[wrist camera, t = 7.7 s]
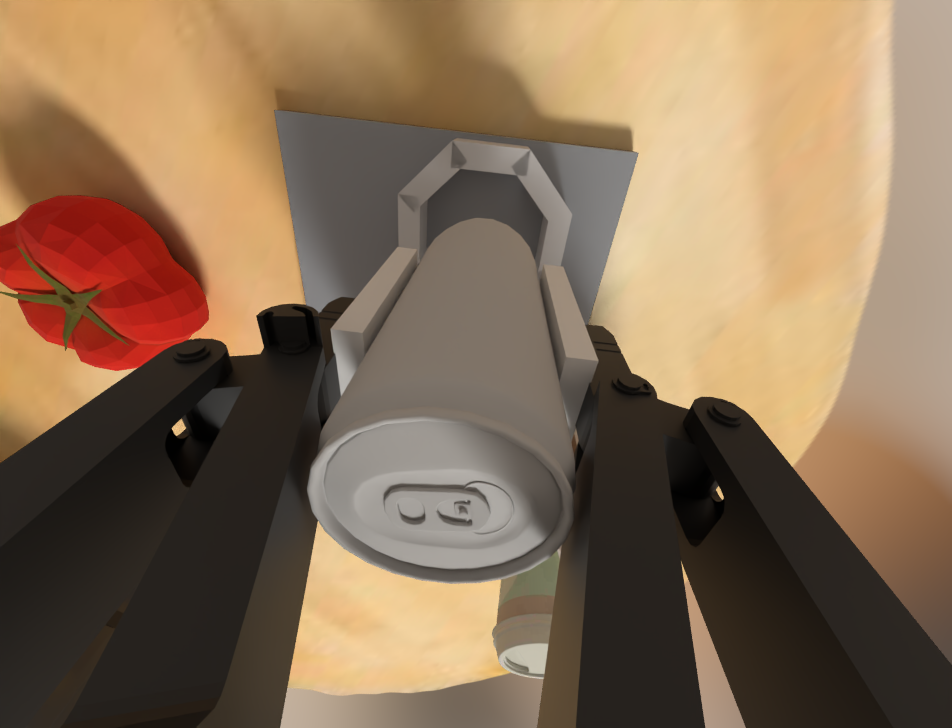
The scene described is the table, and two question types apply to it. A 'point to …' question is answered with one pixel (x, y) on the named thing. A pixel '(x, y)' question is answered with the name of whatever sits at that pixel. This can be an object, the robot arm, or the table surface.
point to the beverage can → (453, 423)
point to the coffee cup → (526, 619)
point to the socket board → (442, 197)
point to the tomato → (99, 281)
